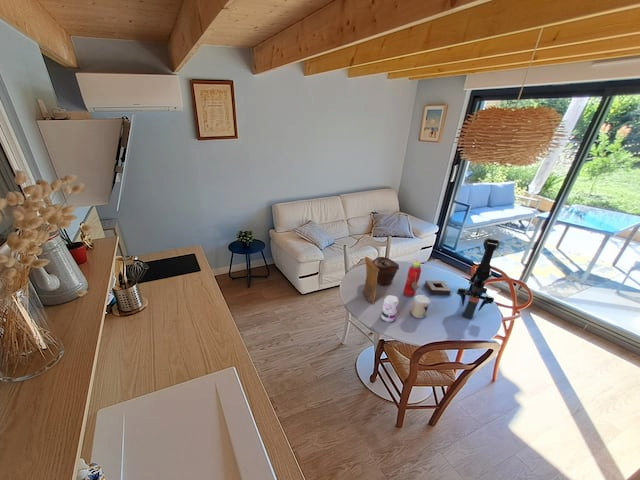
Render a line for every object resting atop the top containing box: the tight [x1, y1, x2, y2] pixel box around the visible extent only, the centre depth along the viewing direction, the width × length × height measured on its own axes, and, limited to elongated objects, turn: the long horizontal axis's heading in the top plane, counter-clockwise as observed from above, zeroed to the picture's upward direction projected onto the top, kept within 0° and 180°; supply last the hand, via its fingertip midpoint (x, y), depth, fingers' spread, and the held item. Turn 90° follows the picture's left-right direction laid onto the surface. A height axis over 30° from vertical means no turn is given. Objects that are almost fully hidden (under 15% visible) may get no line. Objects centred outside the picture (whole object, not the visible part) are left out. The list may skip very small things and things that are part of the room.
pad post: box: [462, 296, 480, 320], centre depth 175 cm, size 5×5×13 cm
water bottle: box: [403, 261, 422, 297], centre depth 192 cm, size 12×8×25 cm, turn 167°
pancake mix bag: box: [363, 255, 379, 304], centre depth 191 cm, size 7×19×28 cm, turn 2°
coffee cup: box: [410, 294, 431, 319], centre depth 177 cm, size 9×9×12 cm
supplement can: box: [380, 294, 400, 323], centre depth 173 cm, size 8×8×15 cm
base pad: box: [424, 280, 452, 296], centre depth 203 cm, size 13×13×4 cm
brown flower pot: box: [372, 256, 400, 287], centre depth 211 cm, size 18×20×18 cm
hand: (470, 308), depth 174 cm, fingers open, 8 cm apart
